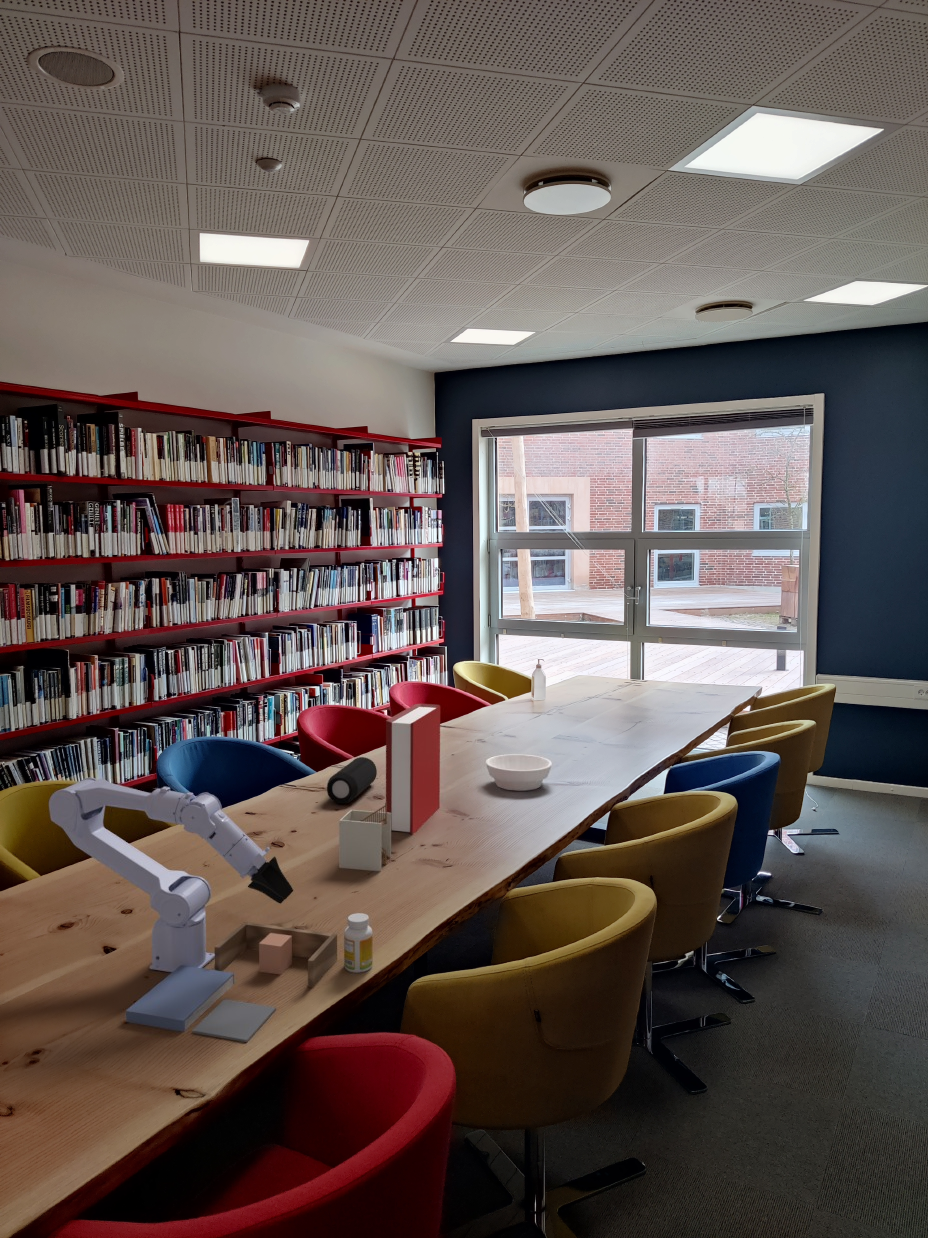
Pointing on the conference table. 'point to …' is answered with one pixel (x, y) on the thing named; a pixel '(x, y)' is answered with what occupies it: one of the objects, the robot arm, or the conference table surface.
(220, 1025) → the felt mat
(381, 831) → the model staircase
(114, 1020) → the conference table surface
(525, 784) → the bowl
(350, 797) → the portable speaker
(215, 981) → the navy book
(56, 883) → the conference table surface
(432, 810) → the book
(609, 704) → the conference table surface
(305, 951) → the walnut u-shaped open frame
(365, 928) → the supplement bottle
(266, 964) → the terracotta block
